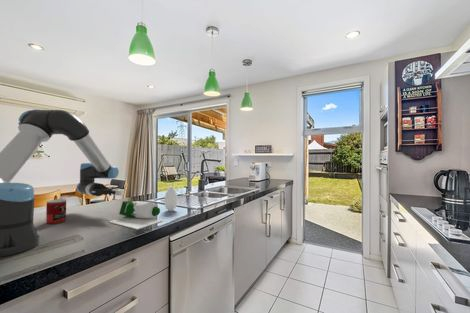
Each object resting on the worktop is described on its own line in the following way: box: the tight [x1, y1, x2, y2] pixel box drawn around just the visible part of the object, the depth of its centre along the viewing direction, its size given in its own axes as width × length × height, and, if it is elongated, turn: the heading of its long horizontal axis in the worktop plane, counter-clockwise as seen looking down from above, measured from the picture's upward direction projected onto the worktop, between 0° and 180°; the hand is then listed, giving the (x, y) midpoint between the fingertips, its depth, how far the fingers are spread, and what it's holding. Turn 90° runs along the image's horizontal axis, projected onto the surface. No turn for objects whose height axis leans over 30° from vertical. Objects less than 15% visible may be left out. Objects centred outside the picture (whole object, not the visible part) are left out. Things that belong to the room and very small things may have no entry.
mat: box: [108, 216, 164, 231], centre depth 109 cm, size 22×15×1 cm
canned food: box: [45, 198, 67, 225], centre depth 107 cm, size 8×8×11 cm
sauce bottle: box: [163, 182, 178, 212], centre depth 133 cm, size 8×8×18 cm
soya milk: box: [118, 200, 161, 219], centre depth 115 cm, size 9×9×20 cm
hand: (120, 192), depth 115 cm, fingers closed
